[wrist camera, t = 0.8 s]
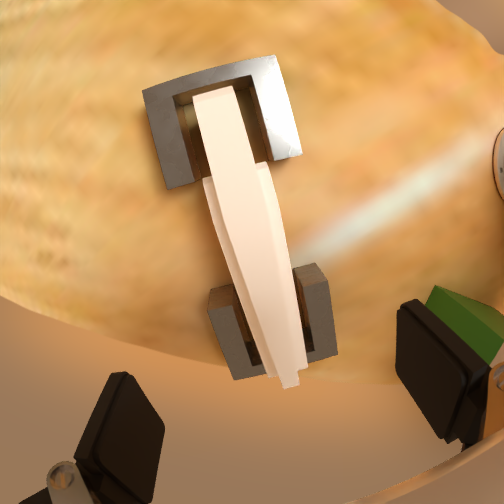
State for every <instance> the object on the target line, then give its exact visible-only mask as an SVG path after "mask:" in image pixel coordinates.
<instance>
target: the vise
mask: <svg viewBox="0 0 504 504" xmlns="http://www.w3.org/2000/svg"><path fill="white" fill-rule="evenodd" d="M228 86H232V87H233V89H234V91H237V90H242V89H246V88H249V89H250V93H251V96H252V100H253V104H254V107H255V111H256V115H257V118H258V122H259V126H260V130H261V134H262V137H263V141H264V145H265V149H266V153H267V157H268V161H276V160H280V159H285V158H289V157H294V156H298V155H303V154H302V150H301V146H300V142H299V138H298V134H297V130H296V126H295V122H294V118H293V114H292V111H291V107H290V103H289V100H288V96H287V93H286V89H285V86H284V82H283V79H282V75H281V72H280V69H279V65H278V62H277V59H276V56H275V55H270V56H264V57H259V58H254V59H249V60H244V61H239V62H235V63H230V64H226V65H222V66H218V67H214V68H210V69H206V70H203V71H199V72H196V73H192V74H189V75H186V76H182V77H179V78H176V79H173V80H170V81H167V82H164V83H161V84H158V85H155V86H153V87H150V88H147V89H145V90H142V93H143V98H144V102H145V106H146V110H147V115H148V119H149V123H150V127H151V131H152V135H153V139H154V142H155V146H156V150H157V154H158V158H159V161H160V165H161V168H162V172H163V176H164V179H165V183H166V186H167V190H169V189H172V188H175V187H179V186H182V185H185V184H189V183H192V182H195V181H197V180H199V179H201V174H200V171H199V167H198V163H197V160H196V156H195V152H194V148H193V145H192V141H191V137H190V133H189V130H188V126H187V122H186V118H185V114H184V110H183V105H186V104H189V103H192V102H193V96H196V95H199V94H203V93H206V92H210V91H213V90H217V89H221V88H224V87H228ZM294 272H295V277H296V282H297V287H298V291H299V296H300V301H301V306H302V311H303V316H304V321H305V326H306V327H305V328H302V332H303V338H304V344H305V350H306V357H307V363H311V362H314V361H318V360H321V359H325V358H328V357H332V356H335V355H338V351H337V342H336V334H335V327H334V319H333V312H332V305H331V298H330V292H329V285H328V280H327V279H326V277H325V276H324V274H323V273H322V272H321V270H320V269H319V267H318V266H317V265H316V263H313V264H309V265H305V266H301V267H297V268H294ZM207 312H208V315H209V317H210V320H211V323H212V326H213V328H214V331H215V333H216V336H217V339H218V341H219V344H220V347H221V349H222V352H223V354H224V357H225V359H226V362H227V364H228V367H229V369H230V372H231V374H232V377H233V379H234V380H239V379H244V378H249V377H253V376H258V375H262V374H267V373H266V370H265V367H264V365H263V362H262V359H261V357H260V354H259V351H258V349H257V346H256V343H255V341H254V340H253V341H250V339H249V336H248V332H247V329H246V326H245V323H244V320H243V317H242V313H241V310H240V307H239V304H238V301H237V297H236V294H235V291H234V288H233V284H231V285H227V286H223V287H219V288H214V289H211V292H210V297H209V303H208V308H207Z"/></svg>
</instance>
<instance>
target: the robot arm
mask: <svg viewBox="0 0 504 504" xmlns="http://www.w3.org/2000/svg"><path fill="white" fill-rule="evenodd" d="M494 174H495V180H496V184H497V188H498V190H499V193H500V195H501V197H502V198H503V200H504V129H503V130H502V131H501V132H500V134H499V136H498V138H497V141H496V145H495V149H494ZM395 369H396V373H397V375H398V377H399V378H400V380H401V381H402V383H403V384H404V386H405V387H406V389H407V390H408V391H409V393H410V395H411V396H412V398H413V399H414V401H415V402H416V404H417V405H418V407H419V408H420V410H421V411H422V413H423V414H424V416H425V418H426V419H427V421H428V422H429V424H430V425H431V427H432V428H433V430H434V432H435V433H436V435H437V436H438V438H440V439H443V438H444V440H445V441H446V442H447V444H449V443H450V442H452V441H454V440H456V439H457V438H459V440H460V441H461V443H463V444H462V448H461V453H459V454H458V455H456V456H454V457H452V458H450V459H449V460H447V461H445V462H443V463H441V464H439V465H438V466H435V467H433V468H432V469H429V470H427V471H426V472H423V473H421V474H419V475H417V476H415V477H413V478H411V479H409V480H406V481H404V482H402V483H399V484H397V485H395V486H392V487H390V488H387V489H385V490H382V491H379V492H377V493H374V494H371V495H369V496H366V497H363V498H360V499H357V500H354V501H351V502H347V503H344V504H504V361H503V362H500V363H498V364H496V365H495V366H494V367H493V368H491V367H490V366H489V365H488V364H487V363H486V362H485V361H484V360H483V359H482V358H481V357H480V356H479V355H478V354H477V353H476V352H475V351H474V350H473V349H472V348H471V347H470V346H469V345H468V344H467V343H466V342H465V341H464V340H462V339H461V338H460V337H459V336H458V335H457V334H456V333H455V332H454V331H453V330H452V329H451V328H449V327H448V326H447V325H446V324H445V323H444V322H443V321H442V320H441V319H440V318H438V317H437V316H436V315H435V314H434V313H433V312H432V311H431V310H429V309H428V308H427V307H426V306H425V305H424V304H423V303H421V302H420V301H419V300H418V299H413V300H411V301H408V302H405V303H403V304H401V306H400V309H399V310H397V336H396V363H395ZM164 433H165V426H164V423H163V421H162V420H161V418H160V417H159V415H158V414H157V412H156V411H155V409H154V408H153V406H152V405H151V403H150V402H149V400H148V399H147V397H146V396H145V394H144V392H143V391H142V389H141V388H140V386H139V384H138V383H137V381H136V379H135V378H134V376H132V375H130V374H129V373H127V372H116V373H111V375H110V376H109V378H108V380H107V382H106V385H105V387H104V389H103V391H102V393H101V395H100V397H99V399H98V401H97V404H96V406H95V408H94V410H93V412H92V415H91V417H90V419H89V421H88V424H87V426H86V428H85V430H84V433H83V435H82V437H81V440H80V442H79V444H78V447H77V449H76V452H75V454H74V459H75V460H76V463H75V464H74V463H72V462H69V461H62V462H59V463H57V464H56V465H54V466H53V467H52V468H51V469H50V471H49V472H48V474H47V480H46V481H47V487H46V488H45V489H43V490H41V491H39V492H37V493H36V494H34V495H32V496H30V497H28V498H27V499H25V500H23V501H21V502H20V503H19V504H148V503H151V502H152V499H153V493H154V487H155V481H156V475H157V470H158V464H159V459H160V454H161V448H162V443H163V438H164Z"/></svg>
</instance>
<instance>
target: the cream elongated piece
mask: <svg viewBox="0 0 504 504" xmlns="http://www.w3.org/2000/svg"><path fill="white" fill-rule="evenodd" d="M193 103H194V107H195V111H196V115H197V119H198V123H199V127H200V131H201V135H202V139H203V143H204V147H205V151H206V155H207V158H208V162H209V166H210V170H211V174H212V176H209V177H206V178H203V186H204V190H205V194H206V197H207V201H208V205H209V209H210V213H211V216H212V220H213V224H214V227H215V230H216V233H217V236H218V239H219V242H220V245H221V248H222V250H223V253H224V256H225V259H226V262H227V265H228V268H229V271H230V274H231V276H232V279H233V282H234V285H235V288H236V291H237V293H238V296H239V299H240V302H241V305H242V307H243V310H244V313H245V316H246V319H247V321H248V324H249V327H250V330H251V332H252V335H253V338H254V341H255V343H256V346H257V349H258V351H259V354H260V357H261V359H262V362H263V365H264V367H265V370H266V373H267V375H268V378H271V377H275V376H279V378H280V381H281V384H282V386H283V389H287V388H290V387H294V386H298V385H300V384H299V377H298V370H302V369H306V368H308V363H307V357H306V350H305V344H304V338H303V332H302V326H301V320H300V314H299V308H298V303H297V297H296V291H295V286H294V280H293V275H292V269H291V264H290V259H289V253H288V248H287V243H286V238H285V233H284V228H283V223H282V218H281V213H280V208H279V204H278V200H277V196H276V193H275V189H274V186H273V182H272V178H271V175H270V171H269V168H268V165H267V163H266V161H265V162H261V163H257V164H255V161H254V158H253V154H252V151H251V147H250V143H249V140H248V137H247V133H246V130H245V126H244V123H243V119H242V116H241V112H240V109H239V106H238V102H237V99H236V96H235V92H234V89H233V87H232V86H228V87H224V88H221V89H217V90H213V91H210V92H206V93H203V94H199V95H196V96H193Z"/></svg>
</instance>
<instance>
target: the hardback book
mask: <svg viewBox="0 0 504 504" xmlns="http://www.w3.org/2000/svg"><path fill="white" fill-rule="evenodd" d="M425 306H426V307H427V308H428V309H429V310H431V311H432V312H433V313H434V314H435V315H436V316H437V317H438V318H440V319H441V320H442V321H443V322H444V323H445V324H446V325H447V326H448V327H449V328H451V329H452V330H453V331H454V332H455V333H456V334H457V335H458V336H459V337H460V338H461V339H462V340H464V341H465V342H466V343H467V344H468V345H469V346H470V347H471V348H472V349H473V350H474V351H475V352H476V353H477V354H478V355H479V356H480V357H481V358H482V359H483V360H484V361H485V362H486V363H487V364H488V365H489V366H490V367H491V368H493V367H494V366H495V365H496V364H498V363H500V362H503V361H504V315H502V314H501V313H500V312H498V311H497V310H496V309H494V308H492V307H490V306H487V305H485V304H483V303H480V302H478V301H475V300H472V299H470V298H467V297H465V296H462V295H460V294H457V293H455V292H452V291H449V290H447V289H444V288H442V287H439V286H436V285H435V286H434V288H433V290H432V292H431V294H430V297H429V299H428V300H427V302H426V304H425Z"/></svg>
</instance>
